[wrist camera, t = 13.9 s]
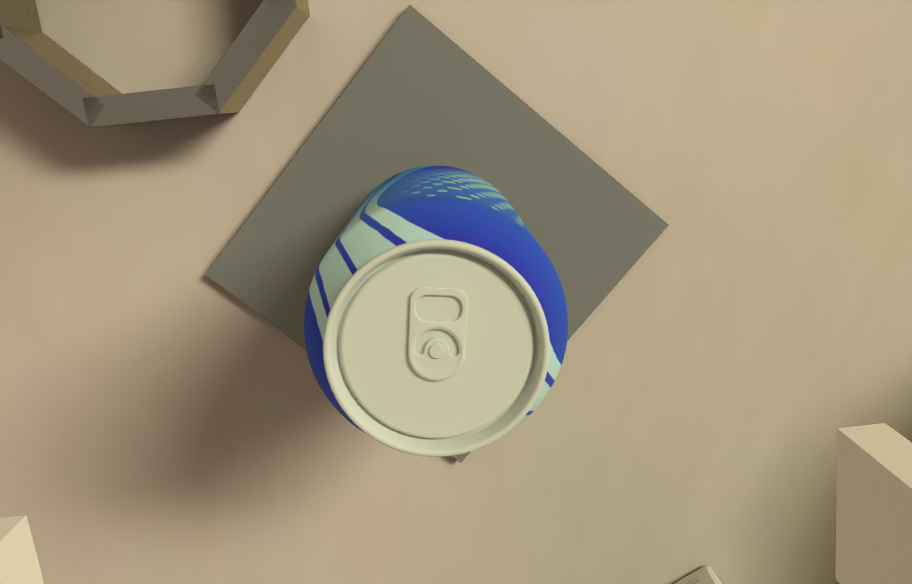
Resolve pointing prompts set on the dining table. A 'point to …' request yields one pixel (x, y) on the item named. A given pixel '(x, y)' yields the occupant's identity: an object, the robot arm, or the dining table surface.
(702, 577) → the tea box
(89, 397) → the dining table surface
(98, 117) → the ring stand
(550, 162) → the rubber mat
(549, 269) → the beer can
